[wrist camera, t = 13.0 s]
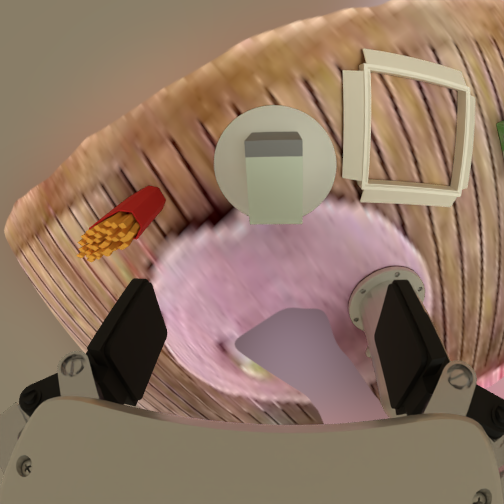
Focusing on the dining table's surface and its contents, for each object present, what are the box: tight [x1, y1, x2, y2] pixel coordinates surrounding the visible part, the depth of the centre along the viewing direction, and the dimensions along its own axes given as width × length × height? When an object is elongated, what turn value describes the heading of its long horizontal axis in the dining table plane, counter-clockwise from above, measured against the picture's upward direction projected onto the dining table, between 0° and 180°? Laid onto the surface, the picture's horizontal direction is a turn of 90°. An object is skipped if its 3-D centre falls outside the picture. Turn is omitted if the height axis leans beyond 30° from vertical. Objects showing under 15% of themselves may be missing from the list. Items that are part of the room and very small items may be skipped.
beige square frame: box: [342, 49, 475, 207], centre depth 26 cm, size 18×18×2 cm
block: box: [244, 132, 303, 224], centre depth 28 cm, size 8×5×7 cm, turn 3°
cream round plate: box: [214, 105, 336, 216], centre depth 31 cm, size 14×14×1 cm
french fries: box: [77, 186, 166, 262], centre depth 30 cm, size 8×4×12 cm, turn 115°
